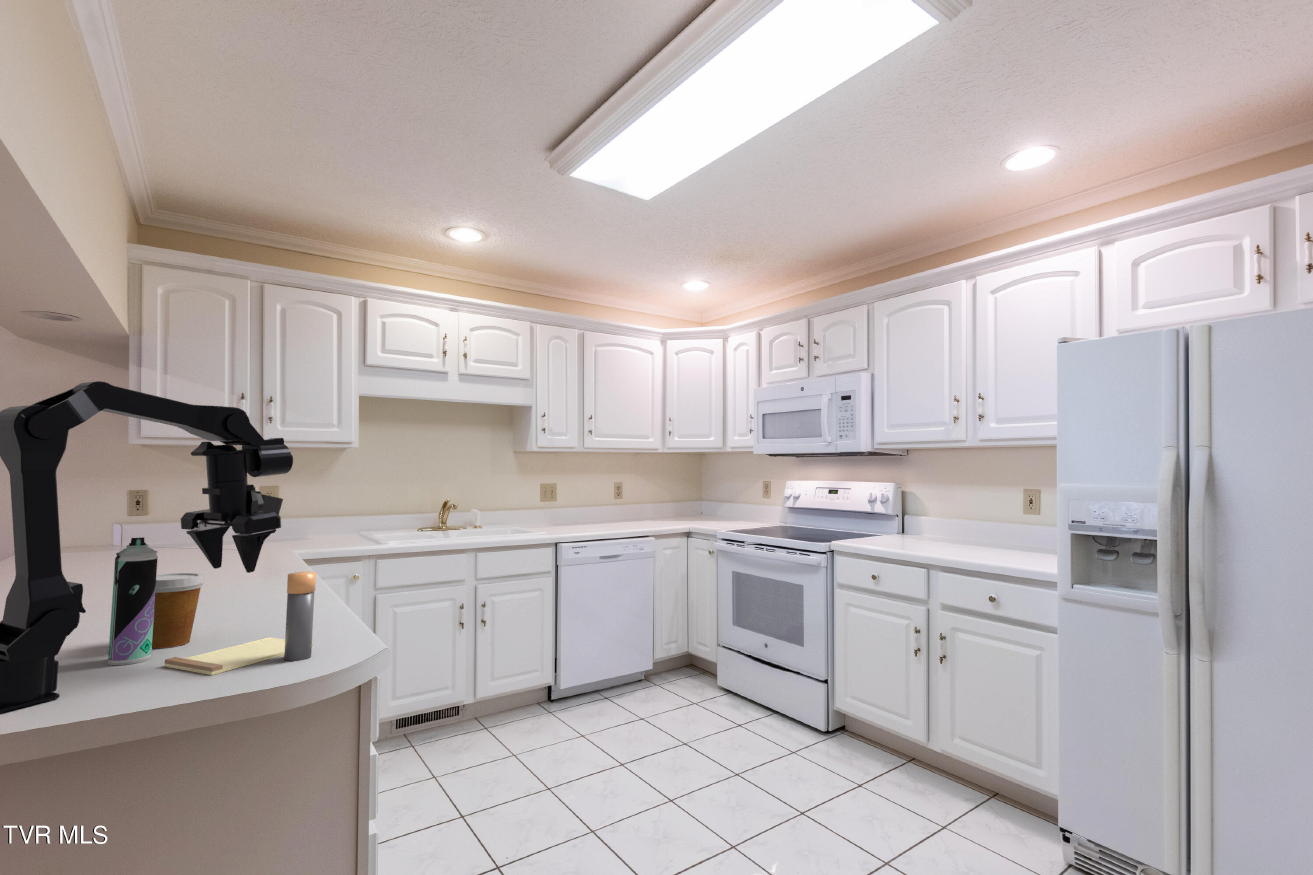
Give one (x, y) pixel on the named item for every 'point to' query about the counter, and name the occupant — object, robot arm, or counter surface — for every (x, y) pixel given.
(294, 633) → the ball
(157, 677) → the counter surface
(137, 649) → the spray can
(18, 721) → the counter surface
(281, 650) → the legal pad
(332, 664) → the counter surface
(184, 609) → the disposable coffee cup
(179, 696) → the counter surface
